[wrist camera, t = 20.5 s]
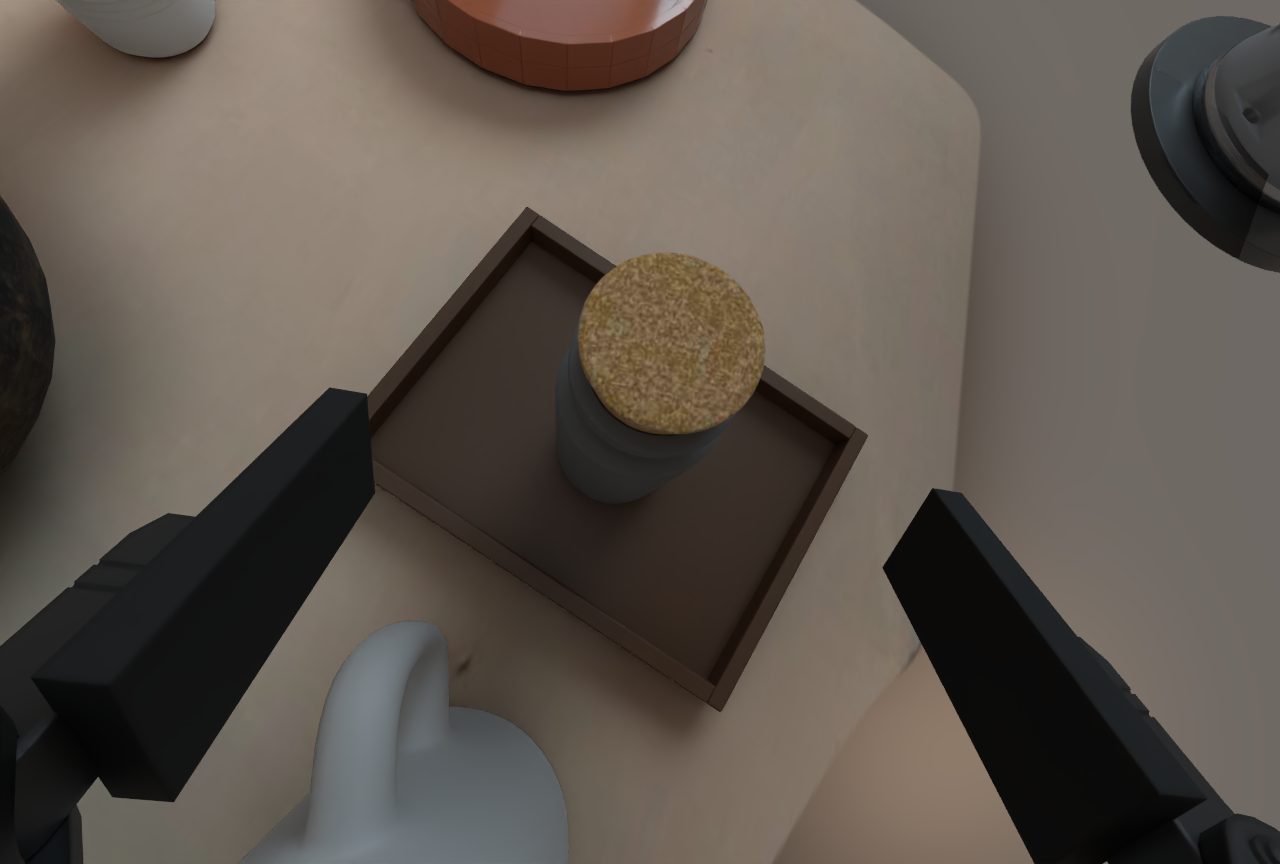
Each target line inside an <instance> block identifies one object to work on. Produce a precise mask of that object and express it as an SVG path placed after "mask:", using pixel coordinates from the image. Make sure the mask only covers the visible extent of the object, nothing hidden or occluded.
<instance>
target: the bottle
mask: <svg viewBox="0 0 1280 864" xmlns="http://www.w3.org/2000/svg"><path fill="white" fill-rule="evenodd" d="M764 359H765V339H764V333H763V327H762V324H761V322H760V319H759V316H758V313H757V311H756V309H755V307H754V306H753V304H752V302H751V300H750V298H749V297H748V296H747V294H746V293H745V292H744V290H743V289H742V288H741V287H740V285H739V284H738V283H737V282H735V281H734V280H733V279H732V278H731V277H730V276H729V275H727V274H726V273H725V272H723V271H722V270H720V269H719V268H717V267H715V266H713V265H711V264H709V263H707V262H705V261H703V260H701V259H698V258H696V257H692V256H688V255H683V254H676V253H655V254H649V255H643V256H639V257H636V258H633V259H630V260H628V261H626V262H624V263H622V264H620V265H619V266H617V267H615V268H614V269H612V270H611V271H610V272H609V273H607V274H606V275H605V276H604V277H602V278H601V280H600V281H599V282H598V283H597V284H596V285H595V287H594V288H593V290H592V291H591V293H590V294H589V296H588V297H587V299H586V301H585V303H584V306H583V309H582V312H581V315H580V319H579V323H578V325H577V327H576V329H575V332H574V334H573V337H572V340H571V343H570V346H569V348H568V349H567V351H566V353H565V355H564V357H563V358H562V361H561V364H560V367H559V371H558V375H557V380H556V391H555V409H556V439H557V453H558V458H559V462H560V465H561V468H562V470H563V472H564V474H565V476H566V477H567V479H568V480H569V482H570V483H571V484H572V485H573V486H574V487H575V488H576V489H577V490H578V491H579V492H581V493H582V494H584V495H585V496H587V497H588V498H591V499H593V500H596V501H599V502H603V503H609V504H621V503H626V502H631V501H634V500H637V499H639V498H641V497H643V496H645V495H647V494H649V493H651V492H652V491H654V490H656V489H658V488H659V487H661V486H663V485H664V484H666V483H668V482H669V481H671V480H673V479H675V478H676V477H678V476H680V475H681V474H683V473H685V472H686V471H688V470H689V469H690V468H692V467H693V466H695V465H696V464H697V463H698V462H700V461H701V460H702V459H703V458H705V457H706V456H707V455H708V454H709V452H710V451H711V450H712V449H713V448H714V446H715V445H716V444H717V442H718V440H719V439H720V437H721V435H722V433H723V431H724V430H725V428H726V427H727V426H728V425H729V424H730V423H731V422H732V420H733V418H734V417H735V415H736V413H737V412H738V411H739V410H740V409H741V408H742V407H743V406H744V405H745V404H746V403H747V401H748V400H749V399H750V397H751V396H752V394H753V393H754V391H755V389H756V387H757V385H758V382H759V380H760V377H761V375H762V371H763V366H764Z"/></svg>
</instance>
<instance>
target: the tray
mask: <svg viewBox="0 0 1280 864" xmlns="http://www.w3.org/2000/svg"><path fill="white" fill-rule="evenodd" d="M615 267H617V266H615V265H614V264H612V263H611V262H609V261H608V260H606V259H605V258H603V257H602V256H600V255H599V254H597V253H596V252H594V251H593V250H591V249H590V248H588V247H587V246H585V245H584V244H582V243H581V242H579V241H578V240H576V239H575V238H573V237H572V236H570V235H569V234H567V233H566V232H564V231H563V230H561V229H560V228H558V227H557V226H555V225H554V224H552V223H551V222H549V221H548V220H546V219H545V218H543V217H542V216H539V214H537V213H536V212H534V211H533V210H531V209H530V208H528V207H526V208H525V210H524V211H523V212H522V213H521V214H520V216H519V217H518V218H517V219H516V220H515V222H514V223H513V224H512V225H511V226H510V227H509V229H508V230H507V231H506V232H505V233H504V235H503V236H502V237H501V238H500V239H499V241H498V242H497V243H496V244H495V245H494V247H493V248H492V249H491V250H490V251H489V252H488V254H487V255H486V256H485V257H484V258H483V260H482V261H481V262H480V263H479V264H478V266H477V267H476V268H475V269H474V270H473V272H472V273H471V274H470V275H469V276H468V277H467V279H466V280H465V281H464V282H463V283H462V285H461V286H460V287H459V288H458V289H457V291H456V292H455V293H454V294H453V295H452V297H451V298H450V299H449V300H448V301H447V303H446V304H445V305H444V306H443V307H442V308H441V310H440V311H439V312H438V313H437V314H436V316H435V317H434V318H433V319H432V320H431V322H430V323H429V324H428V325H427V326H426V328H425V329H424V330H423V331H422V332H421V333H420V335H419V336H418V337H417V338H416V339H415V341H414V342H413V343H412V344H411V345H410V347H409V348H408V349H407V350H406V351H405V353H404V354H403V355H402V356H401V357H400V358H399V360H398V361H397V362H396V363H395V364H394V366H393V367H392V368H391V369H390V370H389V372H388V373H387V374H386V375H385V376H384V378H383V379H382V380H381V381H380V382H379V384H378V385H377V386H376V387H375V388H374V389H373V391H372V392H371V393H370V394H369V395H368V397H367V400H368V413H369V425H370V437H371V450H372V462H373V474H374V483H376V484H377V485H379V486H380V487H382V488H383V489H385V490H386V491H388V492H389V493H391V494H392V495H394V496H395V497H397V498H398V499H400V500H401V501H403V502H404V503H406V504H407V505H409V506H410V507H412V508H413V509H415V510H416V511H418V512H419V513H421V514H422V515H424V516H425V517H427V518H428V519H430V520H431V521H433V522H434V523H436V524H437V525H439V526H440V527H442V528H443V529H445V530H446V531H448V532H449V533H451V534H452V535H454V536H455V537H457V538H458V539H460V540H461V541H463V542H464V543H466V544H467V545H469V546H470V547H472V548H473V549H475V550H476V551H478V552H479V553H481V554H483V555H484V556H486V557H487V558H489V559H490V560H492V561H493V562H495V563H496V564H498V565H499V566H501V567H502V568H504V569H505V570H507V571H508V572H510V573H511V574H513V575H514V576H516V577H517V578H519V579H520V580H522V581H523V582H525V583H526V584H528V585H529V586H531V587H532V588H534V589H535V590H537V591H538V592H540V593H541V594H543V595H544V596H546V597H547V598H549V599H550V600H552V601H553V602H555V603H556V604H558V605H559V606H561V607H562V608H564V609H565V610H567V611H568V612H570V613H571V614H573V615H574V616H576V617H577V618H579V619H580V620H582V621H583V622H585V623H586V624H588V625H589V626H591V627H592V628H594V629H595V630H597V631H598V632H600V633H602V634H603V635H605V636H606V637H608V638H609V639H611V640H612V641H614V642H615V643H617V644H618V645H620V646H621V647H623V648H624V649H626V650H627V651H629V652H630V653H632V654H633V655H635V656H636V657H638V658H639V659H641V660H642V661H644V662H645V663H647V664H648V665H650V666H651V667H653V668H654V669H656V670H657V671H659V672H660V673H662V674H663V675H665V676H666V677H668V678H669V679H671V680H672V681H674V682H675V683H677V684H678V685H680V686H681V687H683V688H684V689H686V690H687V691H689V692H690V693H692V694H693V695H695V696H696V697H698V698H699V699H701V700H702V701H704V702H705V703H707V704H709V705H710V706H712V707H713V708H715V709H716V710H718V711H719V712H721V711H722V710H723V708H724V706H725V704H726V702H727V700H728V698H729V697H730V695H731V693H732V691H733V689H734V687H735V685H736V683H737V681H738V680H739V678H740V676H741V674H742V672H743V670H744V668H745V666H746V665H747V663H748V661H749V659H750V657H751V655H752V653H753V651H754V649H755V648H756V646H757V644H758V642H759V640H760V638H761V636H762V634H763V633H764V631H765V629H766V627H767V625H768V623H769V621H770V619H771V618H772V616H773V614H774V612H775V610H776V608H777V606H778V604H779V602H780V601H781V599H782V597H783V595H784V593H785V591H786V589H787V587H788V586H789V584H790V582H791V580H792V578H793V576H794V574H795V572H796V570H797V569H798V567H799V565H800V563H801V561H802V559H803V557H804V555H805V554H806V552H807V550H808V548H809V546H810V544H811V542H812V540H813V539H814V537H815V535H816V533H817V531H818V529H819V527H820V525H821V523H822V522H823V520H824V518H825V516H826V514H827V512H828V510H829V508H830V507H831V505H832V503H833V501H834V499H835V497H836V495H837V493H838V491H839V490H840V488H841V486H842V484H843V482H844V480H845V478H846V476H847V475H848V473H849V471H850V469H851V467H852V465H853V463H854V461H855V460H856V458H857V456H858V454H859V452H860V450H861V448H862V446H863V444H864V443H865V441H866V439H867V437H868V435H867V434H866V433H864V432H863V431H861V430H860V429H858V428H856V427H855V426H854V425H853V424H851V423H850V422H848V421H847V420H845V419H844V418H842V417H841V416H839V415H838V414H836V413H835V412H833V411H832V410H830V409H829V408H827V407H826V406H824V405H823V404H821V403H820V402H818V401H817V400H815V399H814V398H812V397H811V396H809V395H808V394H806V393H805V392H803V391H802V390H800V389H799V388H797V387H796V386H794V385H793V384H791V383H790V382H788V381H787V380H785V379H784V378H782V377H781V376H779V375H778V374H776V373H775V372H773V371H772V370H770V369H769V368H767V367H766V366H763V371H762V375H761V377H760V380H759V382H758V385H757V387H756V389H755V391H754V393H753V394H752V396H751V397H750V399H749V400H748V401H747V403H746V404H745V405H744V406H743V407H742V408H741V409H740V410H739V411H738V412H737V413H736V415H735V417H734V418H733V420H732V422H731V423H730V424H729V425H728V426H727V427H726V428H725V430H724V431H723V433H722V435H721V437H720V439H719V440H718V442H717V444H716V445H715V446H714V448H713V449H712V450H711V451H710V452H709V454H708V455H707V456H706V457H705V458H703V459H702V460H701V461H700V462H698V463H697V464H696V465H695V466H693V467H692V468H690V469H689V470H688V471H686V472H685V473H683V474H681V475H680V476H678V477H676V478H675V479H673V480H671V481H669V482H668V483H666V484H664V485H663V486H661V487H659V488H658V489H656V490H654V491H652V492H651V493H649V494H647V495H645V496H643V497H641V498H639V499H637V500H634V501H631V502H626V503H621V504H609V503H603V502H599V501H596V500H593V499H591V498H588V497H587V496H585V495H584V494H582V493H581V492H579V491H578V490H577V489H576V488H575V487H574V486H573V485H572V484H571V483H570V482H569V480H568V479H567V477H566V476H565V474H564V472H563V470H562V468H561V465H560V462H559V458H558V453H557V439H556V409H555V391H556V380H557V375H558V371H559V367H560V364H561V361H562V358H563V357H564V355H565V353H566V351H567V349H568V348H569V346H570V343H571V340H572V337H573V334H574V332H575V329H576V327H577V325H578V323H579V319H580V315H581V312H582V309H583V306H584V303H585V301H586V299H587V297H588V296H589V294H590V293H591V291H592V290H593V288H594V287H595V285H596V284H597V283H598V282H599V281H600V280H601V278H602V277H604V276H605V275H606V274H607V273H609V272H610V271H611V270H612V269H614V268H615Z"/></svg>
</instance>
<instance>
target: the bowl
mask: <svg viewBox="0 0 1280 864" xmlns="http://www.w3.org/2000/svg"><path fill="white" fill-rule="evenodd" d="M54 348H55V335H54V328H53V320H52V313H51V306H50V300H49V294H48V289H47V283H46V278H45V276H44V273H43V271H42V269H41V266H40V264H39V261H38V259H37V256H36V254H35V252H34V249H33V247H32V244H31V242H30V240H29V238H28V237H27V235H26V233H25V232H24V230H23V229H22V227H21V226H20V224H19V223H18V221H17V220H16V218H15V217H14V215H13V213H12V212H11V210H10V209H9V207H8V206H7V204H6V203H5V202H4V200H3V199H2V198H1V196H0V473H1V472H2V471H3V470H4V469H5V467H6V466H7V465H8V464H9V463H10V462H11V461H12V459H13V458H14V457H15V456H16V454H17V452H18V451H19V449H20V447H21V446H22V444H23V442H24V440H25V439H26V437H27V435H28V434H29V432H30V430H31V429H32V427H33V425H34V423H35V422H36V420H37V418H38V416H39V413H40V410H41V407H42V404H43V401H44V399H45V396H46V393H47V390H48V387H49V384H50V381H51V377H52V367H53V358H54Z"/></svg>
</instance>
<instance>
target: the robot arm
mask: <svg viewBox="0 0 1280 864" xmlns="http://www.w3.org/2000/svg"><path fill="white" fill-rule="evenodd" d="M1193 112H1194V119H1195V123H1196V127H1197V130H1198V133H1199V136H1200V139H1201V141H1202V143H1203V145H1204V147H1205V149H1206V151H1207V153H1208V154H1209V156H1210V158H1211V159H1212V161H1213V162H1214V164H1215V165H1216V166H1217V168H1218V169H1219V170H1220V171H1221V173H1222V174H1223V175H1224V176H1225V177H1226V178H1227V179H1228V180H1229V181H1230V182H1231V183H1232V184H1233V185H1234V186H1235V187H1236V188H1237V189H1238V190H1239V191H1240V192H1242V193H1243V194H1244V195H1246V196H1247V197H1248V198H1250V199H1251V200H1253V201H1254V202H1256V203H1257V204H1259V205H1261V206H1263V207H1265V208H1267V209H1269V210H1271V211H1273V212H1276V213H1279V214H1280V23H1278V24H1277V25H1275V26H1272V27H1270V28H1268V29H1266V30H1264V31H1262V32H1260V33H1258V34H1255V35H1253V36H1251V37H1249V38H1247V39H1246V40H1244V41H1242V42H1241V43H1239V44H1237V45H1235V46H1234V47H1232V48H1231V49H1229V50H1228V51H1227V52H1225V53H1224V54H1223V55H1221V56H1220V57H1219V58H1217V59H1216V60H1215V61H1213V62H1212V63H1211V64H1209V65H1208V66H1207V67H1206V68H1205V69H1204V70H1203V72H1202V73H1201V75H1200V76H1199V78H1198V80H1197V83H1196V86H1195V90H1194V95H1193ZM374 494H375V487H374V474H373V462H372V450H371V437H370V425H369V413H368V400H367V394H365V393H359V392H353V391H347V390H341V389H335V388H329V389H328V390H327V391H325V392H324V393H323V394H322V395H321V396H320V397H319V398H318V399H317V400H316V401H315V402H314V403H313V404H312V405H311V406H310V407H309V408H308V409H307V410H306V411H305V412H304V413H303V414H302V415H301V416H300V417H299V418H298V419H297V420H295V421H294V422H293V423H292V424H291V425H290V426H289V427H288V428H287V429H286V430H285V431H284V432H283V433H282V434H281V435H280V436H279V437H278V438H277V439H276V440H275V441H274V442H273V443H272V444H271V445H270V446H269V447H268V448H267V449H266V450H264V451H263V452H262V453H261V454H260V455H259V456H258V457H257V458H256V459H255V460H254V461H253V462H252V463H251V464H250V465H249V466H248V467H247V468H246V469H245V470H244V471H243V472H242V473H241V474H240V475H239V476H238V477H237V478H236V479H234V480H233V481H232V482H231V483H230V484H229V485H228V486H227V487H226V488H225V489H224V490H223V491H222V492H221V493H220V494H219V495H218V496H217V497H216V498H215V499H214V500H213V501H212V502H211V503H210V504H209V505H208V506H207V507H206V508H205V509H203V510H202V511H201V512H200V513H199V514H198V515H197V516H196V517H192V516H185V515H178V514H170V513H168V514H166V515H164V516H162V517H160V518H158V519H156V520H154V521H152V522H150V523H149V524H147V525H145V526H143V527H141V528H139V529H137V530H135V531H133V532H131V533H129V534H128V535H127V536H126V537H125V538H124V539H123V540H121V541H120V542H119V543H118V544H117V545H116V546H115V547H113V548H112V549H111V550H110V551H109V552H108V553H107V554H105V555H104V556H103V557H102V558H101V559H100V562H99V564H98V565H93V566H92V567H90V568H89V569H88V570H87V571H86V572H85V573H84V574H82V575H81V576H80V577H79V578H78V579H77V580H76V581H74V582H75V584H74V586H73V587H71V588H70V587H68V588H66V589H65V590H64V591H63V592H62V593H61V594H60V595H58V596H57V597H56V598H55V599H54V600H53V601H52V602H50V603H49V604H48V605H47V606H46V607H45V608H44V609H42V610H41V611H40V612H39V613H38V614H37V615H36V616H34V617H33V618H32V619H31V620H30V621H29V622H28V623H26V624H25V625H24V626H23V627H22V628H21V629H20V630H18V631H17V632H16V633H15V634H14V635H13V636H11V637H10V638H9V639H8V640H7V641H6V642H5V643H3V644H2V645H1V646H0V864H83V843H82V820H81V814H80V812H79V809H78V807H77V803H78V802H79V800H80V799H81V798H82V796H83V795H84V794H85V793H86V791H87V790H88V789H89V788H90V786H91V785H92V784H93V782H94V781H95V780H96V779H97V777H99V778H100V780H101V781H102V783H103V784H104V786H105V787H106V788H107V790H108V791H109V793H110V794H111V796H112V797H117V798H129V799H141V800H153V801H166V802H174V801H175V799H176V798H177V796H178V795H179V793H180V792H181V790H182V789H183V787H184V786H185V784H186V783H187V781H188V779H189V778H190V776H191V775H192V773H193V772H194V770H195V769H196V767H197V766H198V764H199V763H200V761H201V760H202V758H203V756H204V755H205V753H206V752H207V750H208V749H209V747H210V746H211V744H212V743H213V741H214V740H215V738H216V736H217V735H218V733H219V732H220V730H221V729H222V727H223V726H224V724H225V723H226V721H227V720H228V718H229V716H230V715H231V713H232V712H233V710H234V709H235V707H236V706H237V704H238V703H239V701H240V700H241V698H242V697H243V695H244V693H245V692H246V690H247V689H248V687H249V686H250V684H251V683H252V681H253V680H254V678H255V677H256V675H257V673H258V672H259V670H260V669H261V667H262V666H263V664H264V663H265V661H266V660H267V658H268V657H269V655H270V653H271V652H272V650H273V649H274V647H275V646H276V644H277V643H278V641H279V640H280V638H281V637H282V635H283V633H284V632H285V630H286V629H287V627H288V626H289V624H290V623H291V621H292V620H293V618H294V617H295V615H296V614H297V612H298V610H299V609H300V607H301V606H302V604H303V603H304V601H305V600H306V598H307V597H308V595H309V594H310V592H311V590H312V589H313V587H314V586H315V584H316V583H317V581H318V580H319V578H320V577H321V575H322V574H323V572H324V570H325V569H326V567H327V566H328V564H329V563H330V561H331V560H332V558H333V557H334V555H335V554H336V552H337V551H338V549H339V547H340V546H341V544H342V543H343V541H344V540H345V538H346V537H347V535H348V534H349V532H350V531H351V529H352V527H353V526H354V524H355V523H356V521H357V520H358V518H359V517H360V515H361V514H362V512H363V511H364V509H365V507H366V506H367V504H368V503H369V501H370V500H371V498H372V497H373V495H374ZM883 570H884V572H885V574H886V575H887V577H888V579H889V581H890V583H891V585H892V587H893V589H894V591H895V593H896V595H897V597H898V599H899V601H900V603H901V605H902V607H903V609H904V611H905V612H906V614H907V616H908V618H909V620H910V622H911V624H912V626H913V628H914V630H915V632H916V634H917V636H918V638H919V640H920V642H921V644H922V646H923V648H924V649H925V651H926V653H927V655H928V657H929V659H930V661H931V663H932V665H933V667H934V669H935V671H936V673H937V675H938V677H939V679H940V681H941V683H942V685H943V686H944V688H945V690H946V692H947V694H948V696H949V698H950V700H951V702H952V704H953V706H954V708H955V710H956V712H957V714H958V715H959V718H960V720H961V721H962V723H963V725H964V727H965V729H966V731H967V733H968V735H969V737H970V739H971V741H972V743H973V745H974V747H975V749H976V751H977V753H978V755H979V757H980V759H981V760H982V762H983V764H984V766H985V768H986V770H987V772H988V774H989V776H990V778H991V780H992V782H993V784H994V786H995V787H996V790H997V792H998V794H999V796H1000V797H1001V799H1002V801H1003V803H1004V805H1005V807H1006V809H1007V811H1008V813H1009V815H1010V817H1011V819H1012V821H1013V823H1014V825H1015V827H1016V829H1017V830H1018V833H1019V834H1020V836H1021V838H1022V840H1023V842H1024V844H1025V846H1026V848H1027V850H1028V852H1029V854H1030V856H1031V857H1032V860H1033V862H1034V864H1103V863H1104V862H1106V861H1107V862H1108V864H1280V832H1279V831H1278V830H1277V829H1275V828H1273V827H1271V826H1269V825H1268V824H1266V823H1264V822H1262V821H1260V820H1258V819H1256V818H1254V817H1250V816H1246V815H1242V814H1234V813H1233V811H1232V810H1231V809H1230V808H1229V807H1228V806H1227V805H1226V804H1225V803H1224V801H1223V800H1222V799H1221V798H1220V797H1219V795H1218V794H1217V793H1216V792H1215V790H1214V789H1213V788H1212V787H1211V786H1210V785H1209V783H1208V782H1207V781H1206V780H1205V779H1204V777H1203V776H1202V775H1201V773H1200V772H1199V771H1198V770H1197V769H1196V767H1195V766H1194V765H1193V764H1192V763H1191V761H1190V760H1189V759H1188V758H1187V756H1186V755H1185V754H1184V753H1183V752H1182V750H1180V748H1179V747H1178V746H1177V744H1176V743H1175V742H1174V741H1173V739H1172V738H1171V737H1170V736H1169V735H1168V734H1167V732H1166V731H1165V730H1164V729H1163V727H1162V726H1161V725H1160V724H1159V723H1158V721H1157V720H1156V719H1155V718H1154V717H1150V716H1149V710H1148V709H1147V708H1146V707H1145V706H1144V705H1143V703H1142V702H1141V701H1140V699H1138V697H1137V696H1136V695H1135V694H1131V692H1130V690H1131V689H1130V687H1129V686H1128V685H1127V684H1126V683H1125V681H1124V680H1123V679H1122V678H1121V676H1120V675H1119V674H1118V673H1117V672H1116V670H1115V669H1114V668H1113V667H1112V665H1111V664H1110V663H1109V662H1108V661H1107V660H1106V659H1105V658H1103V657H1102V656H1101V655H1100V654H1099V653H1098V652H1097V651H1095V650H1094V649H1093V648H1092V647H1091V646H1090V645H1088V644H1087V643H1086V642H1085V641H1084V640H1083V639H1082V638H1080V637H1077V636H1076V634H1075V633H1074V632H1073V631H1072V629H1071V628H1070V627H1069V626H1068V624H1067V623H1066V622H1065V621H1064V620H1063V619H1062V617H1061V616H1060V615H1059V613H1058V612H1057V611H1056V610H1055V608H1054V607H1053V606H1052V605H1051V603H1050V602H1049V601H1048V600H1047V598H1046V597H1045V596H1044V595H1043V593H1042V592H1041V591H1040V590H1039V588H1038V587H1037V586H1036V585H1035V584H1034V582H1033V581H1032V580H1031V579H1030V577H1029V576H1028V575H1027V574H1026V572H1025V571H1024V570H1023V569H1022V567H1021V566H1020V565H1019V564H1018V562H1017V561H1016V560H1015V559H1014V557H1013V556H1012V555H1011V554H1010V552H1009V551H1008V550H1007V549H1006V548H1005V546H1004V545H1003V544H1002V543H1001V541H1000V540H999V539H998V538H997V536H996V535H995V534H994V533H993V531H992V530H991V529H990V528H989V526H988V525H987V524H986V523H985V521H984V520H983V519H982V518H981V516H980V515H979V514H978V513H977V511H976V510H975V509H974V508H973V506H972V505H971V504H970V503H969V502H968V501H967V499H966V498H965V497H964V495H963V494H962V493H958V492H952V491H946V490H940V489H934V488H932V490H931V492H930V493H929V495H928V496H927V498H926V499H925V501H924V503H923V504H922V506H921V507H920V509H919V511H918V512H917V514H916V515H915V517H914V518H913V520H912V522H911V523H910V525H909V526H908V528H907V530H906V531H905V533H904V534H903V536H902V537H901V539H900V541H899V542H898V544H897V545H896V547H895V549H894V550H893V552H892V553H891V555H890V557H889V558H888V560H887V561H886V563H885V564H884V566H883Z"/></svg>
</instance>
